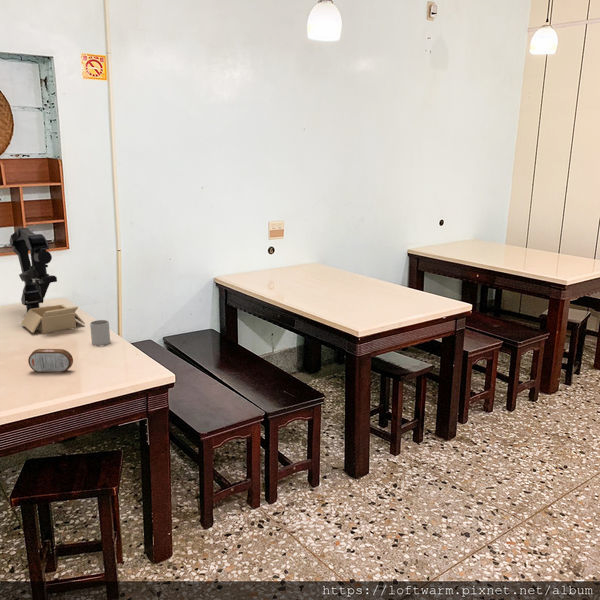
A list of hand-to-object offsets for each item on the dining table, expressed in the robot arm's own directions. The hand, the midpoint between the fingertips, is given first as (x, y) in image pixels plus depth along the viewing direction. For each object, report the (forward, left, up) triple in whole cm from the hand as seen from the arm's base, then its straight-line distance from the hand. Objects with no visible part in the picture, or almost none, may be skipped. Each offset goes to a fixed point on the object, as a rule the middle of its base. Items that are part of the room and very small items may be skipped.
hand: (42, 297), depth 267 cm
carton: (+3, +2, -13) cm, 13 cm away
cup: (+40, +10, -13) cm, 43 cm away
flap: (+18, +2, -3) cm, 18 cm away
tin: (+62, -16, -13) cm, 65 cm away
